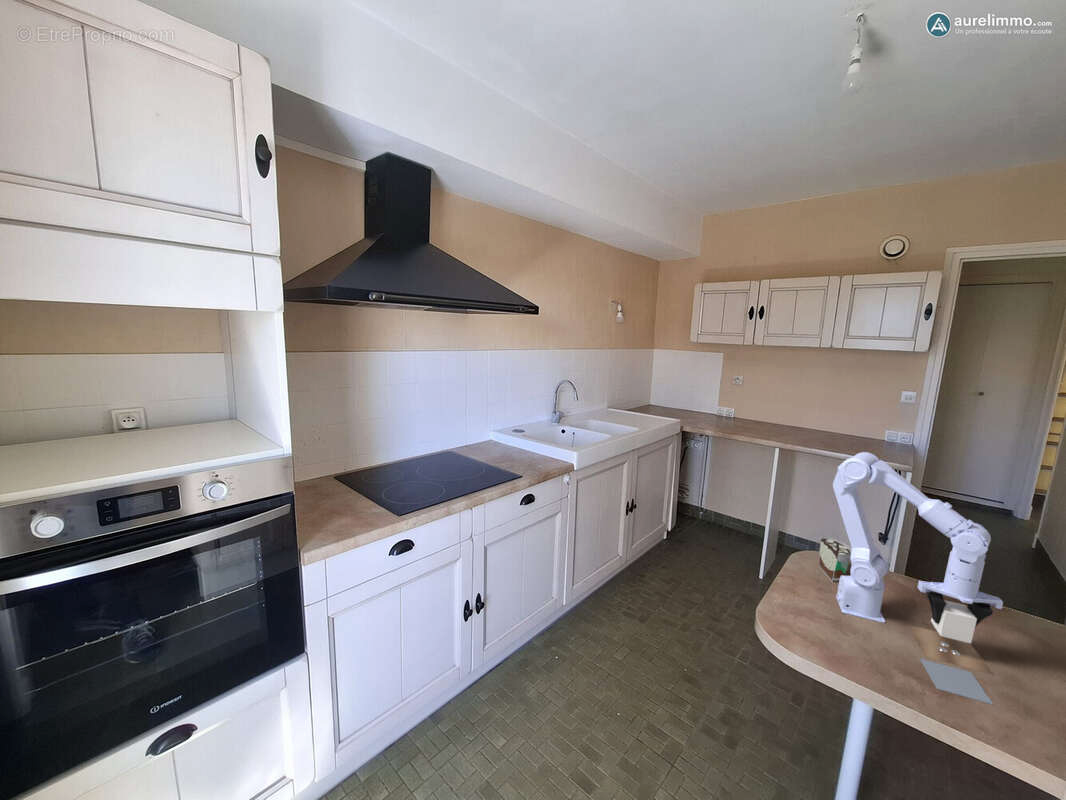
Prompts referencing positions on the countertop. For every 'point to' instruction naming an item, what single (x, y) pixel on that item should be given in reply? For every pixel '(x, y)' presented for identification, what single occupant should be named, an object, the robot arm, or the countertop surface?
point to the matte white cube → (956, 622)
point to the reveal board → (948, 649)
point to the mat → (955, 681)
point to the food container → (833, 558)
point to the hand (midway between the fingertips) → (951, 624)
